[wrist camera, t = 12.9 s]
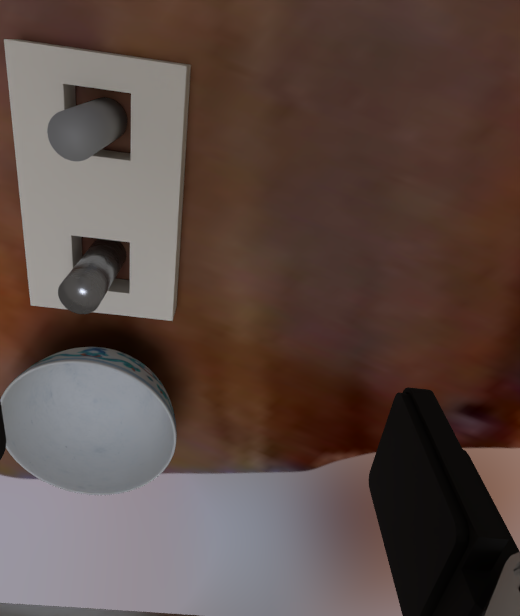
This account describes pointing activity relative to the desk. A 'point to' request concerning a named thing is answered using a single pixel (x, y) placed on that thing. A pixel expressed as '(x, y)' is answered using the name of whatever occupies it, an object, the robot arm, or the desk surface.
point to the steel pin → (92, 276)
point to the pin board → (99, 169)
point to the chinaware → (90, 421)
